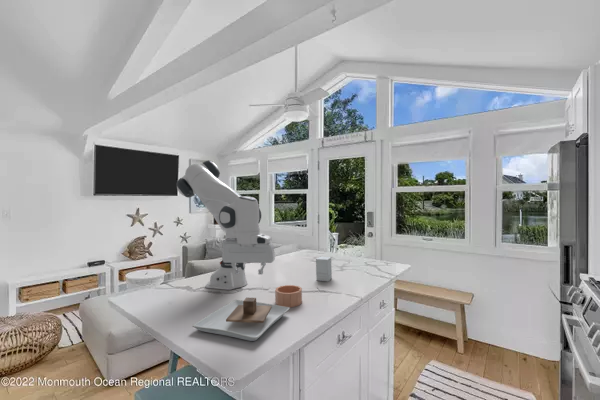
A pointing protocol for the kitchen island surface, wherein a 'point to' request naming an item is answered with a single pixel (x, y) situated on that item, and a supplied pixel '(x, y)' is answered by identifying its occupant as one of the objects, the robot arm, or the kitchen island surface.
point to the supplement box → (323, 269)
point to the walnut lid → (249, 312)
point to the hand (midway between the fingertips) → (248, 273)
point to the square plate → (239, 329)
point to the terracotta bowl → (288, 296)
